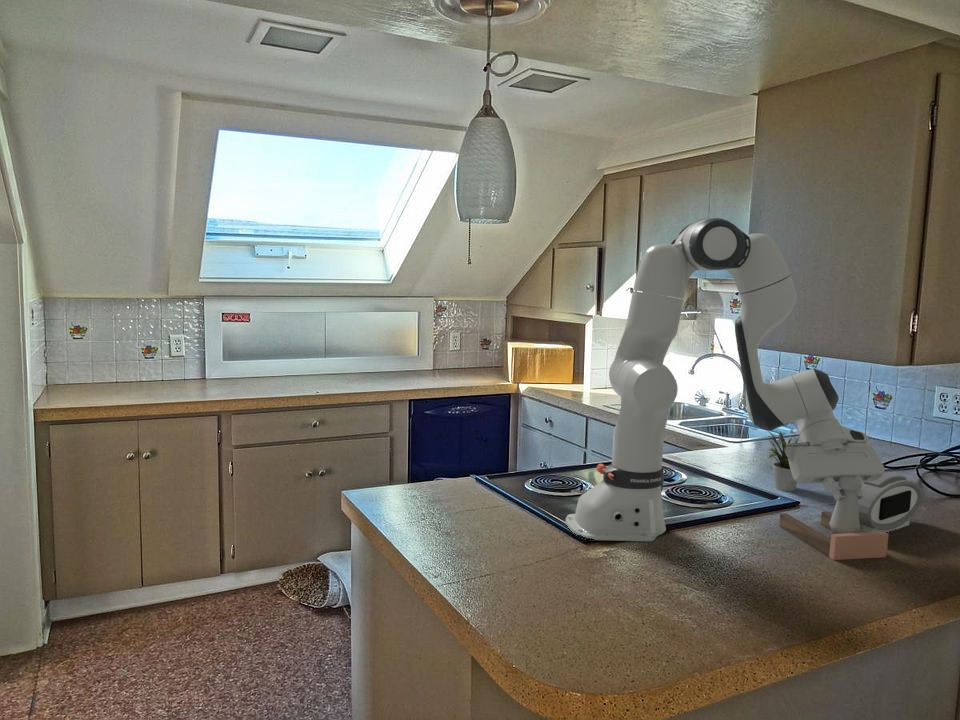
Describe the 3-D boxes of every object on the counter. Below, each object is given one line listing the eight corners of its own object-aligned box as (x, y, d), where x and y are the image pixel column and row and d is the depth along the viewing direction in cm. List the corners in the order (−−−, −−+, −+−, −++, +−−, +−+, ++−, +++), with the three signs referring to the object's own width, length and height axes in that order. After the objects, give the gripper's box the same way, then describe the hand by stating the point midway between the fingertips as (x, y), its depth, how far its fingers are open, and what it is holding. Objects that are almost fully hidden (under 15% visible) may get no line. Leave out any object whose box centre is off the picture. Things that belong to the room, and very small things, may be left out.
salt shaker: (862, 543, 155) (870, 484, 152) (833, 540, 155) (841, 482, 153) (851, 531, 160) (859, 474, 158) (824, 529, 161) (831, 472, 158)
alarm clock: (866, 542, 162) (871, 486, 160) (839, 533, 167) (844, 479, 165) (920, 523, 174) (925, 471, 173) (893, 515, 179) (899, 464, 178)
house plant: (741, 485, 201) (746, 427, 198) (767, 476, 210) (771, 420, 208) (793, 499, 190) (798, 437, 188) (817, 489, 199) (822, 429, 197)
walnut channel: (829, 557, 153) (830, 543, 153) (779, 526, 171) (780, 513, 170) (881, 554, 155) (882, 540, 155) (826, 523, 173) (827, 511, 172)
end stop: (833, 560, 152) (835, 536, 151) (829, 557, 153) (831, 534, 152) (886, 557, 154) (888, 534, 153) (881, 554, 155) (883, 531, 155)
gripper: (788, 435, 159) (813, 493, 151) (873, 433, 163) (901, 490, 155) (775, 450, 164) (798, 507, 156) (857, 447, 168) (883, 503, 160)
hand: (850, 498), depth 156 cm, fingers closed on salt shaker, 3 cm apart
